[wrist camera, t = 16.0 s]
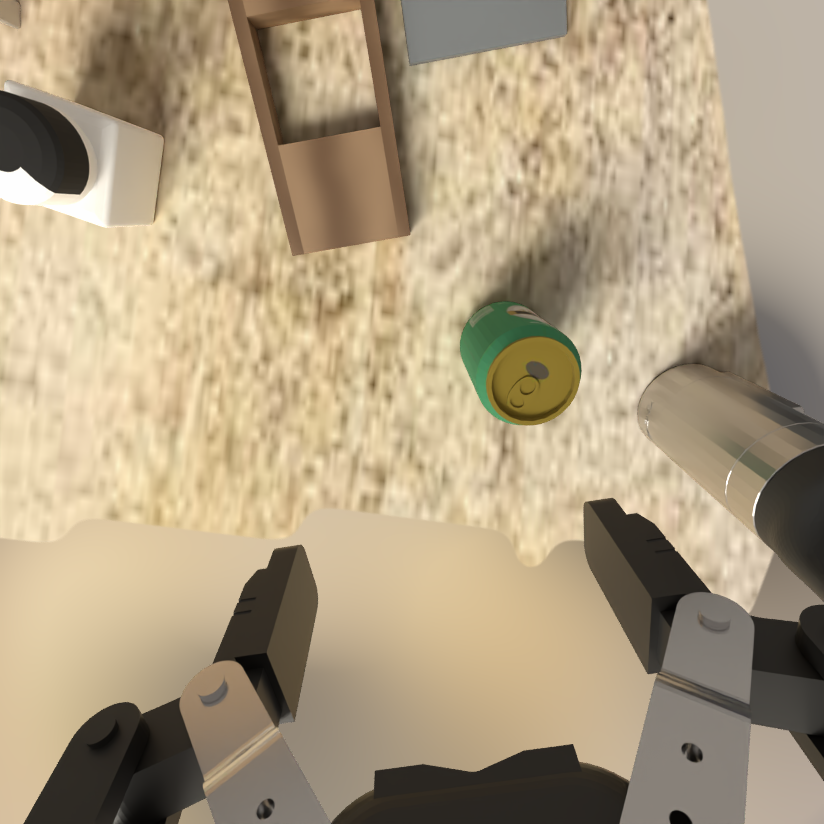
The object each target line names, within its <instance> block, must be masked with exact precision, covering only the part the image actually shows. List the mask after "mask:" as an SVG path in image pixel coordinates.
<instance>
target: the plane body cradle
mask: <svg viewBox="0 0 824 824" xmlns="http://www.w3.org/2000/svg"><path fill="white" fill-rule="evenodd" d="M228 3H229V7H230V11H231V14H232V18H233V22H234V26H235V30H236V34H237V38H238V42H239V46H240V50H241V54H242V58H243V62H244V66H245V70H246V74H247V78H248V82H249V86H250V90H251V93H252V97H253V101H254V105H255V109H256V113H257V117H258V121H259V125H260V129H261V133H262V137H263V141H264V145H265V149H266V153H267V157H268V161H269V165H270V168H271V172H272V176H273V180H274V184H275V188H276V192H277V196H278V200H279V204H280V208H281V212H282V216H283V220H284V224H285V228H286V232H287V236H288V240H289V244H290V247H291V251H292V255H293V256H295V255H301V254H306V253H312V252H318V251H323V250H329V249H335V248H340V247H346V246H351V245H357V244H363V243H368V242H374V241H380V240H385V239H391V238H397V237H402V236H408V235H410V228H409V222H408V216H407V209H406V203H405V196H404V190H403V183H402V177H401V170H400V164H399V157H398V151H397V144H396V138H395V132H394V125H393V119H392V112H391V106H390V99H389V93H388V86H387V80H386V73H385V67H384V60H383V54H382V48H381V41H380V35H379V28H378V22H377V15H376V9H375V2H374V0H228ZM359 9H361V11H362V18H363V24H364V30H365V36H366V42H367V48H368V54H369V60H370V66H371V72H372V78H373V84H374V90H375V97H376V103H377V109H378V115H379V121H380V127H376V128H370V129H365V130H360V131H354V132H349V133H344V134H338V135H333V136H327V137H322V138H317V139H311V140H306V141H301V142H295V143H290V144H284V143H283V138H282V134H281V130H280V126H279V122H278V118H277V113H276V109H275V105H274V101H273V97H272V92H271V88H270V84H269V80H268V76H267V71H266V67H265V63H264V59H263V55H262V50H261V46H260V42H259V38H258V34H257V29H262V28H267V27H273V26H278V25H283V24H288V23H293V22H298V21H303V20H308V19H313V18H318V17H324V16H329V15H334V14H339V13H344V12H349V11H354V10H359Z"/></svg>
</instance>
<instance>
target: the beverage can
mask: <svg viewBox="0 0 824 824" xmlns="http://www.w3.org/2000/svg"><path fill="white" fill-rule="evenodd" d="M460 352H461V357H462V360H463V362H464V365H465V367H466V369H467V371H468V374H469V376H470V378H471V380H472V383H473V385H474V387H475V389H476V392H477V394H478V396H479V398H480V400H481V402H482V404H483V405H484V407H485V408H486V409H487V410H488V411H489V412H490V413H491V414H492V415H493V416H495V417H496V418H498V419H499V420H502V421H504V422H506V423H510V424H515V425H537V424H542V423H545V422H548V421H550V420H552V419H554V418H555V417H557V416H558V415H560V414H561V413H562V412H563V411H564V410H566V408H567V407H568V406H569V405H570V404H571V402H572V401H573V399H574V397H575V395H576V393H577V390H578V387H579V383H580V379H581V361H580V356H579V354H578V351H577V349H576V347H575V346H574V344H573V343H572V341H571V340H570V339H569V338H568V337H567V336H566V335H564V334H563V333H562V332H560V331H559V330H557V329H556V328H555V327H553V326H552V325H551V324H549V323H548V322H546V321H545V320H544V319H542V318H541V317H540V316H538V315H537V314H535V313H534V312H533V311H531V310H530V309H529V308H527V307H525V306H523V305H521V304H518V303H515V302H508V301H505V302H496V303H493V304H490V305H487V306H485V307H483V308H482V309H480V310H479V311H477V312H476V313H475V314H474V315H473V316H472V317H471V318H470V319H469V321H468V322H467V324H466V326H465V327H464V329H463V332H462V335H461V340H460Z"/></svg>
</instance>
